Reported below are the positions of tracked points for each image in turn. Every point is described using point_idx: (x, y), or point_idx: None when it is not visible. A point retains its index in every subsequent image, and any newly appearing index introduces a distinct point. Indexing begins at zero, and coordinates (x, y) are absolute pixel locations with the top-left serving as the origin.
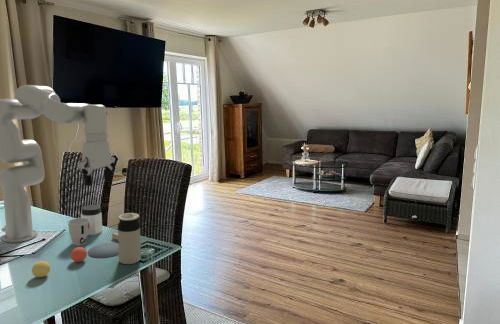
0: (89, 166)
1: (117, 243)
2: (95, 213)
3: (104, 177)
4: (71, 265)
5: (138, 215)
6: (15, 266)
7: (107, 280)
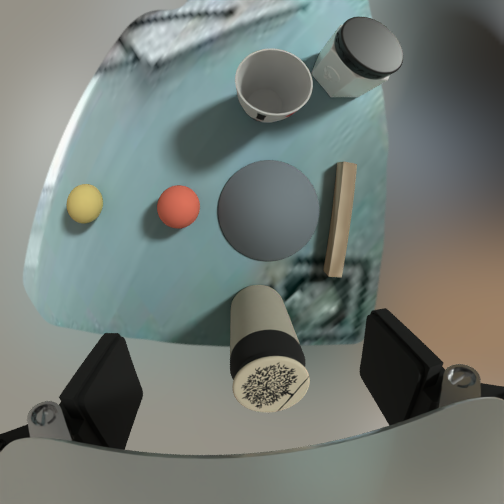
0: (158, 465)
1: (318, 204)
2: (363, 75)
3: (377, 326)
4: None
5: (293, 404)
6: (94, 105)
7: (163, 334)
